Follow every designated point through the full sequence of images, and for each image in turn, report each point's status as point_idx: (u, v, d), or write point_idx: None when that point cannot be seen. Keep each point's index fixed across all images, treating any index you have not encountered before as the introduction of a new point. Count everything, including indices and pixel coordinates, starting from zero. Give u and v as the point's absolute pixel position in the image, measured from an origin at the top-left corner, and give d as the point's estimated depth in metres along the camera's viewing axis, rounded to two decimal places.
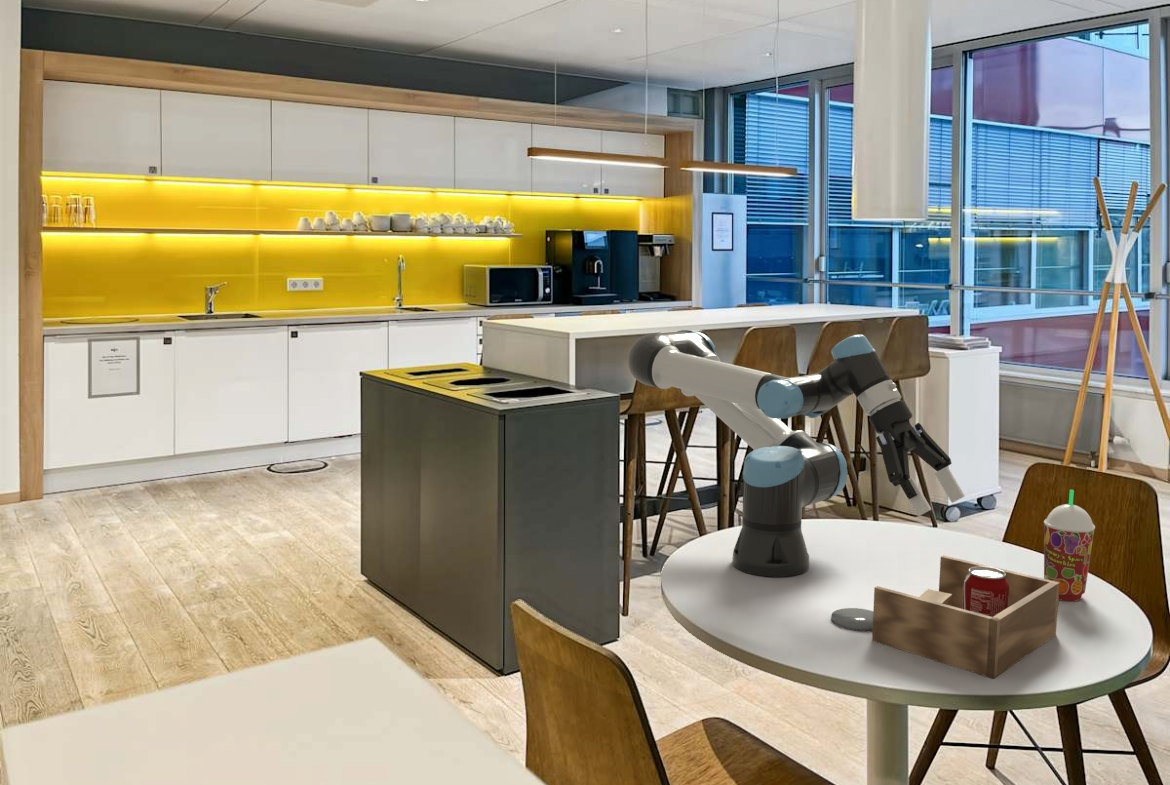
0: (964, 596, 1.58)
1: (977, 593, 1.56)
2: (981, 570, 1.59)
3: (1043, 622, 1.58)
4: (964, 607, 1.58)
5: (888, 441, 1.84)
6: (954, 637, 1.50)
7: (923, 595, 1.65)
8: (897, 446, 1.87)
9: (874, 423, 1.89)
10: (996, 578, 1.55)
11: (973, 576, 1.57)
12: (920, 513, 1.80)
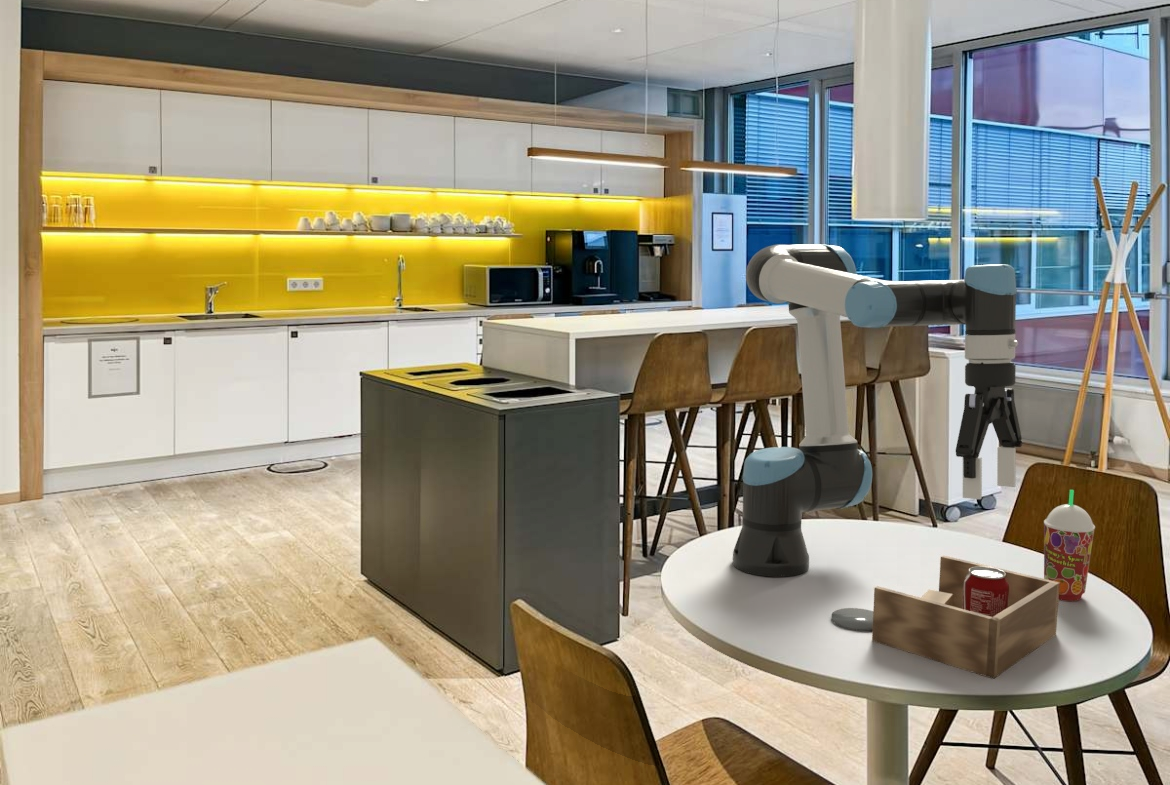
0: (964, 596, 1.58)
1: (977, 593, 1.56)
2: (981, 570, 1.59)
3: (1043, 622, 1.58)
4: (964, 607, 1.58)
5: (977, 407, 1.53)
6: (954, 637, 1.50)
7: (925, 596, 1.65)
8: None
9: (970, 374, 1.57)
10: (996, 578, 1.55)
11: (973, 576, 1.57)
12: (967, 496, 1.55)
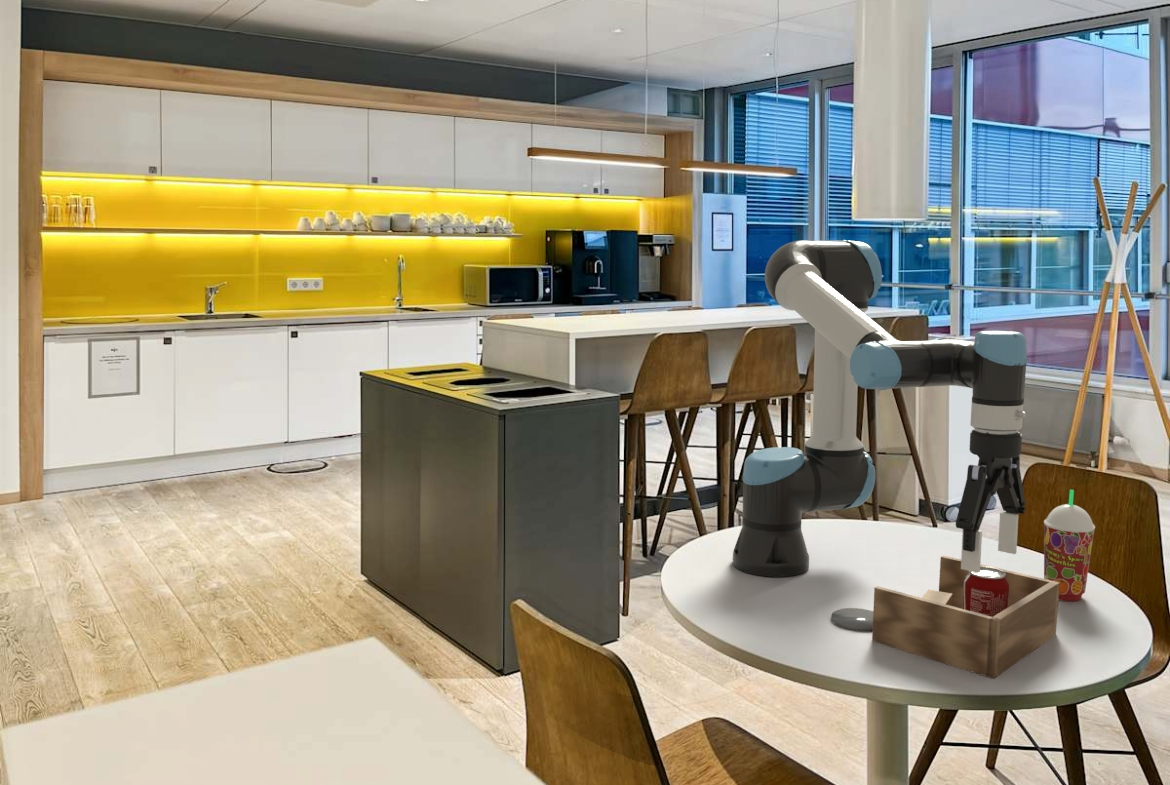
0: (964, 596, 1.58)
1: (977, 593, 1.56)
2: (981, 570, 1.59)
3: (1043, 622, 1.58)
4: (964, 607, 1.58)
5: (980, 480, 1.50)
6: (954, 637, 1.50)
7: (925, 596, 1.65)
8: None
9: (975, 443, 1.53)
10: (996, 578, 1.55)
11: (973, 576, 1.57)
12: (965, 568, 1.52)
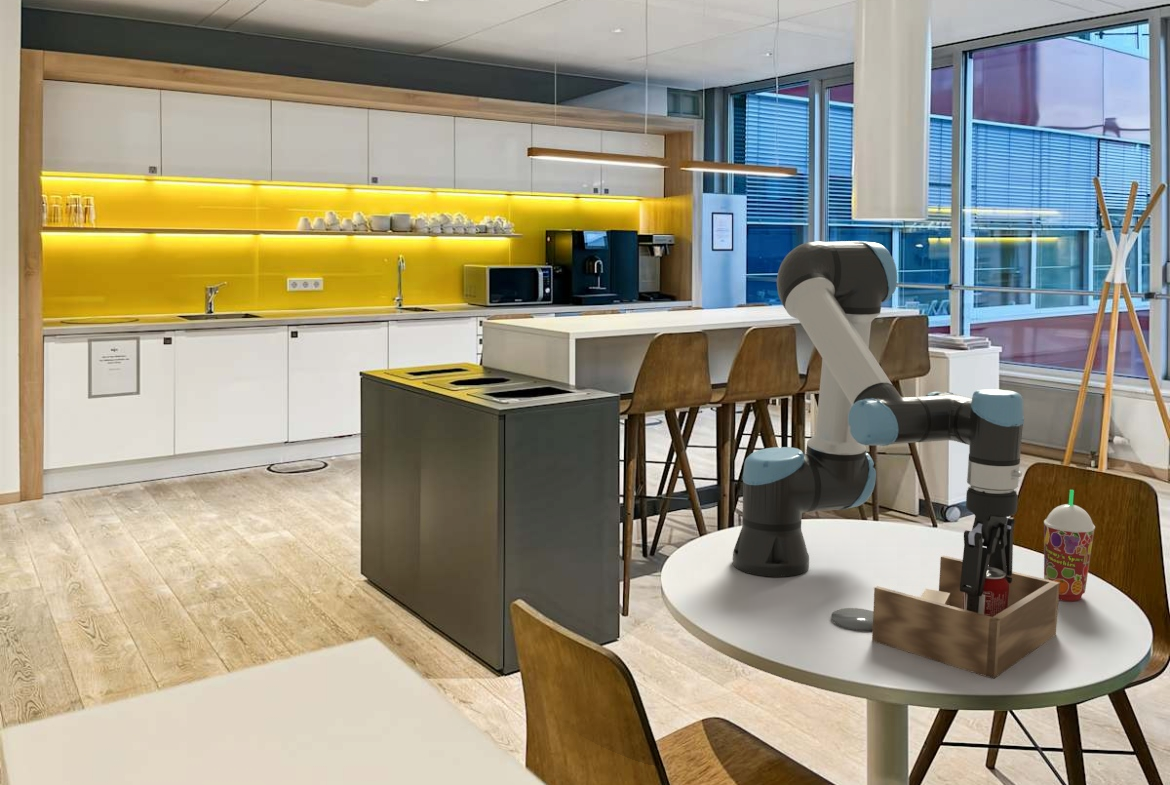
0: (964, 596, 1.58)
1: None
2: None
3: (1043, 622, 1.58)
4: (964, 607, 1.58)
5: (977, 546, 1.52)
6: (954, 637, 1.50)
7: (924, 595, 1.65)
8: None
9: (971, 501, 1.55)
10: (996, 578, 1.55)
11: None
12: None
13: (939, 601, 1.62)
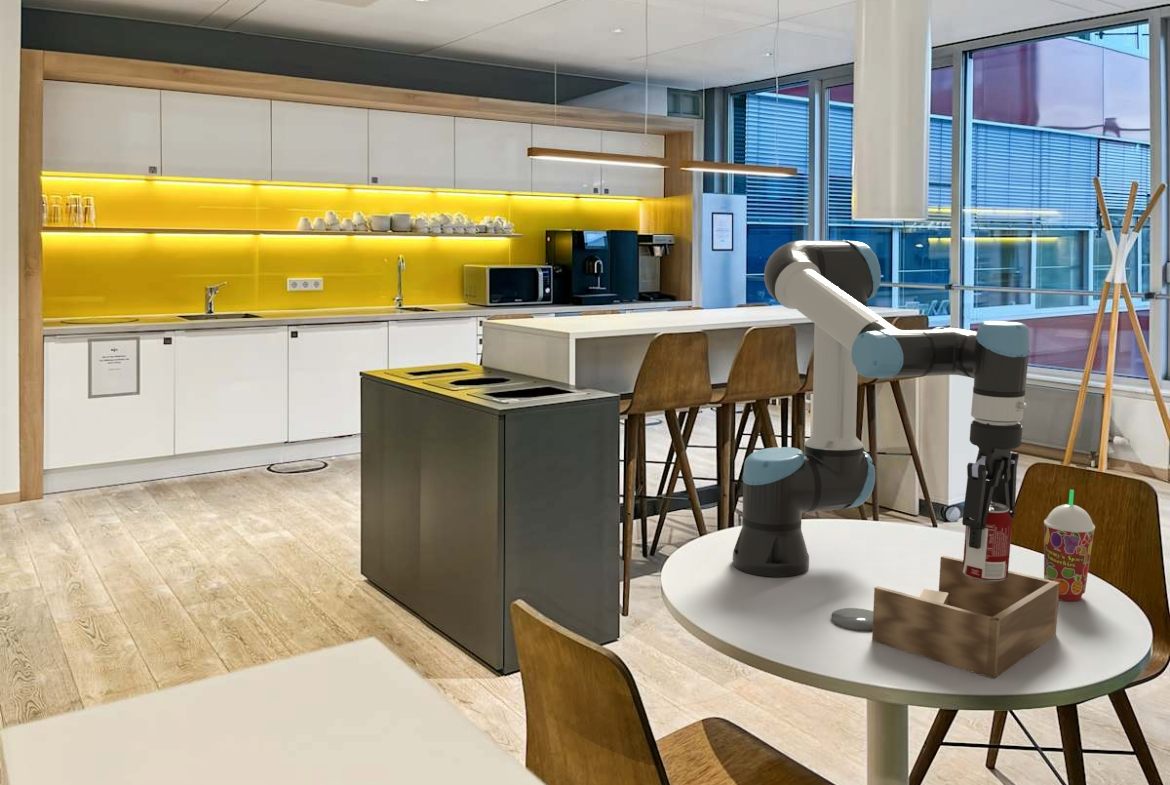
0: (966, 531, 1.57)
1: None
2: None
3: (1043, 622, 1.58)
4: (966, 542, 1.57)
5: (980, 478, 1.50)
6: (954, 637, 1.50)
7: (922, 595, 1.65)
8: None
9: (975, 433, 1.53)
10: (999, 512, 1.54)
11: None
12: (970, 564, 1.55)
13: (938, 601, 1.62)
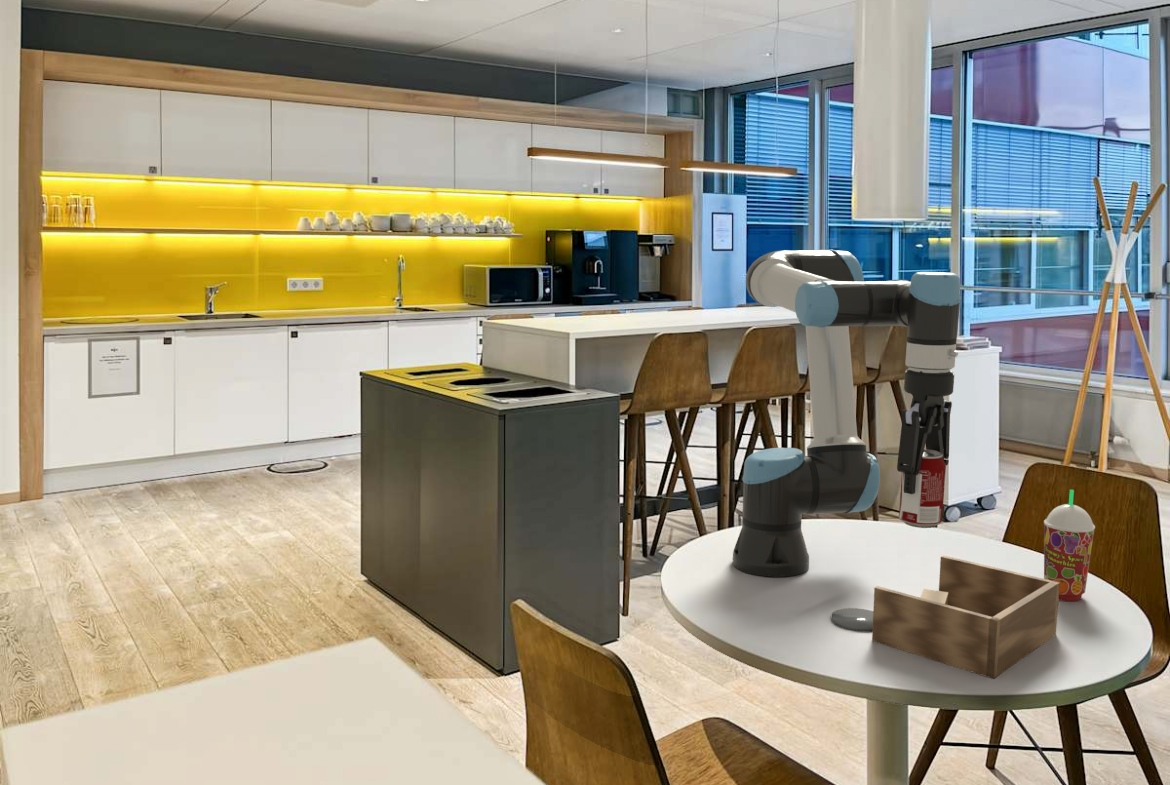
0: (902, 477, 1.61)
1: None
2: None
3: (1043, 622, 1.58)
4: (902, 488, 1.61)
5: (914, 424, 1.54)
6: (954, 637, 1.50)
7: (923, 595, 1.65)
8: None
9: (909, 381, 1.57)
10: (933, 457, 1.58)
11: None
12: (905, 510, 1.59)
13: (939, 601, 1.62)
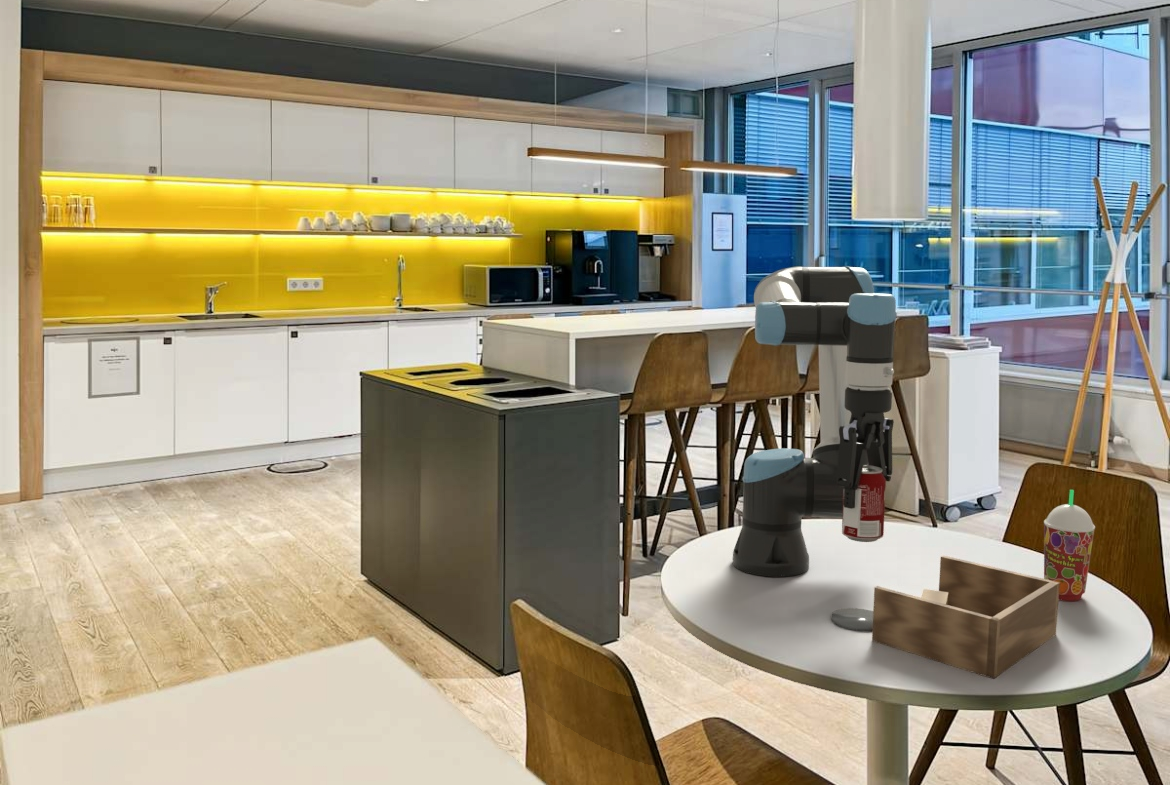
0: None
1: None
2: None
3: (1043, 622, 1.58)
4: None
5: (851, 440, 1.59)
6: (954, 637, 1.50)
7: (924, 596, 1.65)
8: None
9: (848, 399, 1.62)
10: (872, 473, 1.62)
11: None
12: (846, 524, 1.63)
13: (940, 601, 1.62)
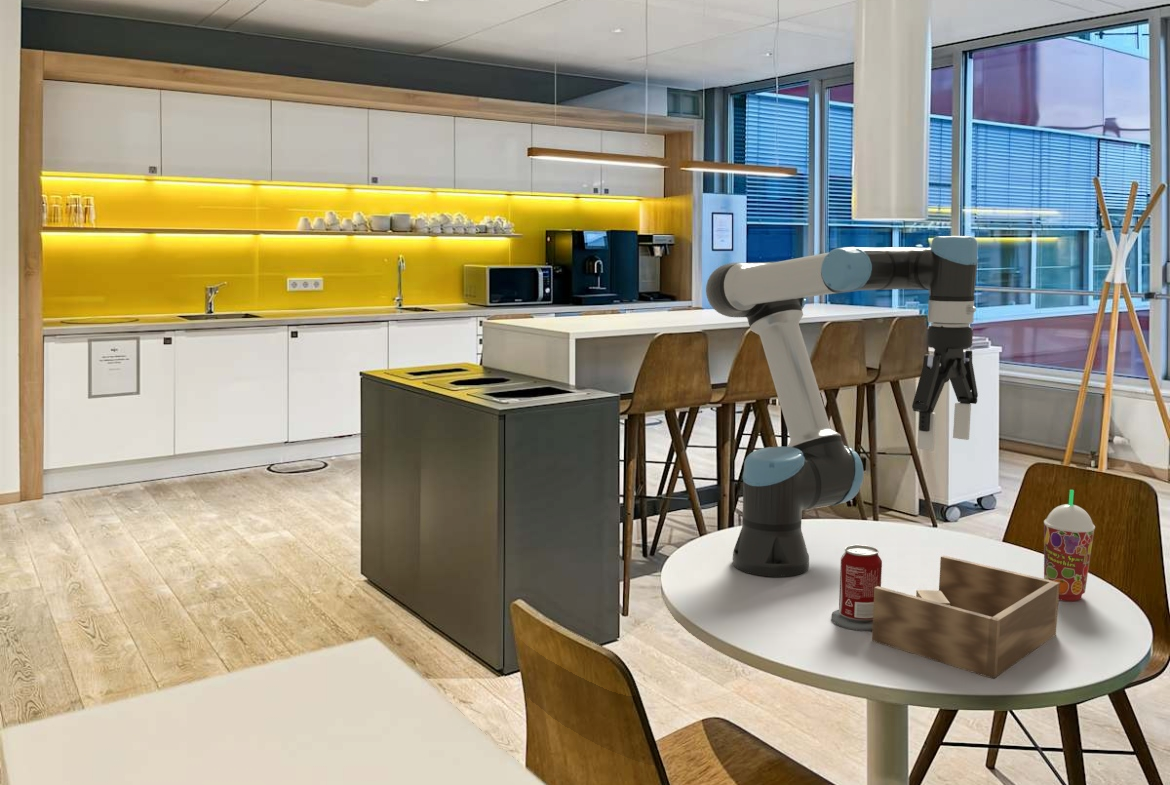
0: (841, 573, 1.68)
1: (851, 570, 1.65)
2: (857, 548, 1.69)
3: (1043, 622, 1.58)
4: (841, 583, 1.68)
5: (934, 367, 1.68)
6: (954, 637, 1.50)
7: (923, 597, 1.64)
8: (938, 370, 1.72)
9: (931, 336, 1.71)
10: (868, 555, 1.64)
11: (848, 554, 1.66)
12: (921, 447, 1.71)
13: (942, 601, 1.62)
